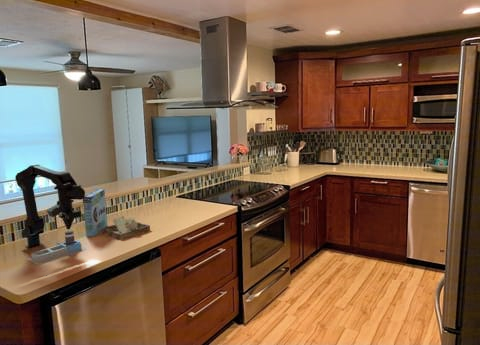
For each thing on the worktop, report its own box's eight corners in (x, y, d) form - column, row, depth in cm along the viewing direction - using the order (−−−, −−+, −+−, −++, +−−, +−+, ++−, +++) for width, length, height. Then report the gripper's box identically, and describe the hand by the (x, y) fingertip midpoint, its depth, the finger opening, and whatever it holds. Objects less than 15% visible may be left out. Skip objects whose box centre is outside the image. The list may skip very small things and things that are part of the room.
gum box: (100, 225, 222) (96, 189, 218) (108, 225, 222) (104, 189, 218) (85, 236, 203) (81, 196, 199) (94, 236, 203) (90, 196, 199)
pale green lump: (139, 238, 202) (142, 216, 212) (131, 232, 197) (135, 210, 207) (116, 245, 206) (120, 223, 216) (108, 239, 201) (112, 217, 211)
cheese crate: (102, 233, 208) (102, 228, 207) (131, 224, 222) (130, 220, 222) (121, 239, 196) (120, 234, 195) (150, 230, 210) (149, 225, 209)
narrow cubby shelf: (27, 260, 171) (26, 251, 170) (75, 246, 188) (74, 237, 188) (37, 267, 163) (36, 257, 163) (86, 251, 181) (85, 242, 180)
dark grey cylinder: (64, 250, 180) (62, 232, 179) (73, 247, 184) (71, 230, 182) (68, 252, 178) (66, 234, 176) (77, 249, 181) (75, 232, 179)
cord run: (56, 245, 190) (55, 243, 190) (58, 244, 191) (58, 242, 191) (64, 249, 184) (64, 247, 184) (66, 248, 185) (66, 246, 185)
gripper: (39, 199, 176) (43, 230, 179) (56, 204, 164) (60, 237, 167) (62, 194, 184) (66, 224, 187) (80, 199, 173) (83, 231, 175)
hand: (68, 229), depth 179 cm, fingers closed
